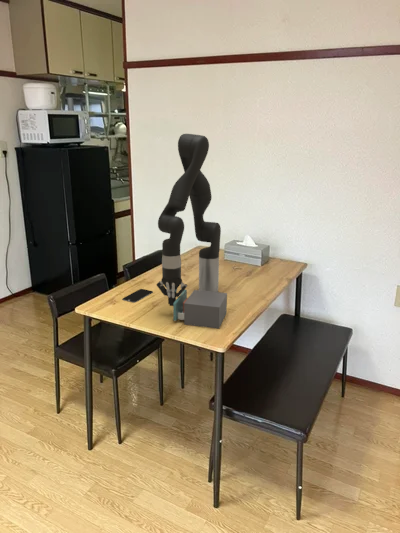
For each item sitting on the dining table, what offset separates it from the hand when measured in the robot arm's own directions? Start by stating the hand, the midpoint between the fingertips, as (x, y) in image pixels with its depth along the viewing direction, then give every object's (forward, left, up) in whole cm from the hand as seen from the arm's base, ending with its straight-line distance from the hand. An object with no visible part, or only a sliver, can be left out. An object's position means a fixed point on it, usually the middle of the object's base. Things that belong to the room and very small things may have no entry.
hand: (172, 305), depth 177 cm
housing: (0, +14, -4) cm, 15 cm away
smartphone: (-16, -22, -5) cm, 27 cm away
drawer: (0, +9, -3) cm, 10 cm away
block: (0, +8, -3) cm, 8 cm away
